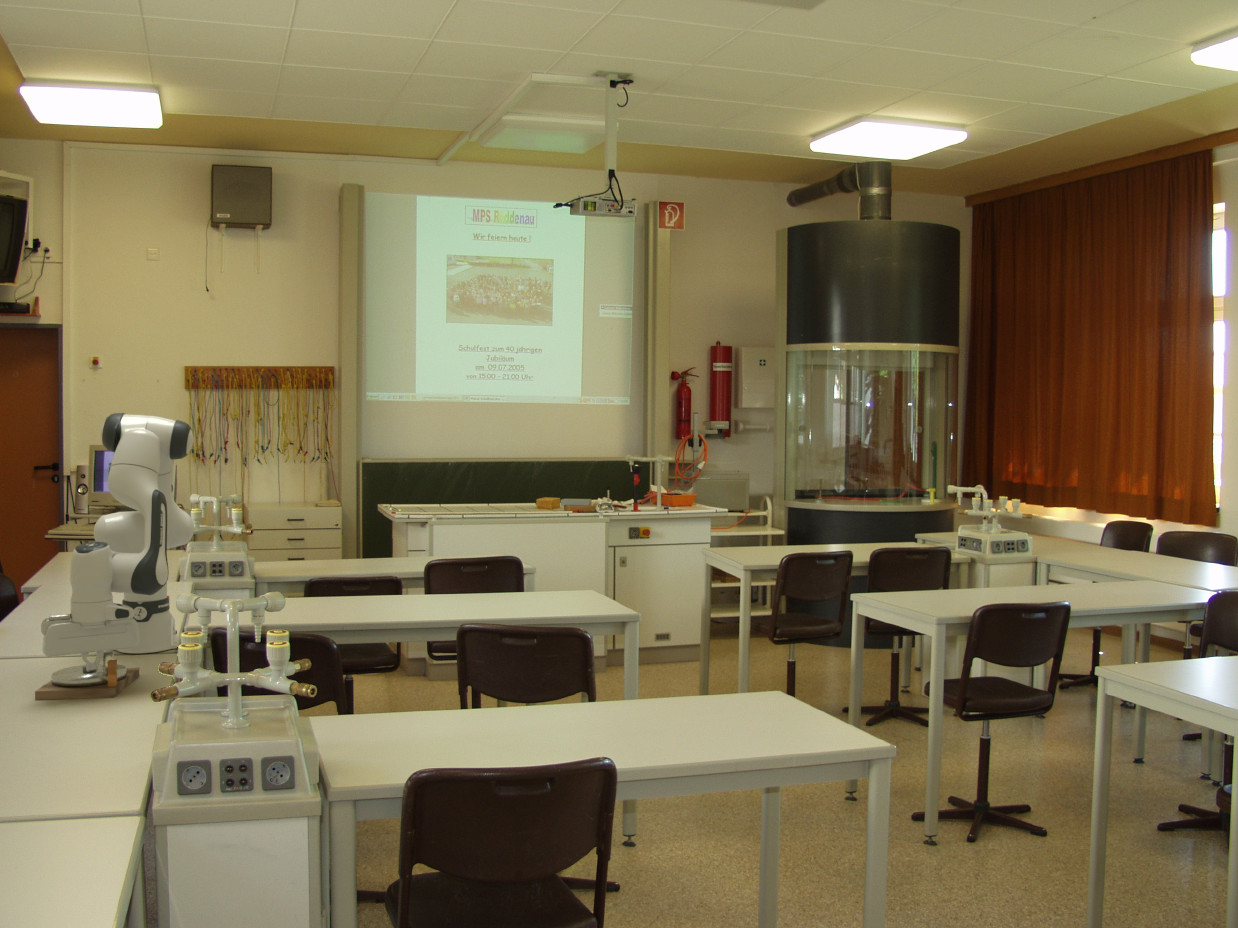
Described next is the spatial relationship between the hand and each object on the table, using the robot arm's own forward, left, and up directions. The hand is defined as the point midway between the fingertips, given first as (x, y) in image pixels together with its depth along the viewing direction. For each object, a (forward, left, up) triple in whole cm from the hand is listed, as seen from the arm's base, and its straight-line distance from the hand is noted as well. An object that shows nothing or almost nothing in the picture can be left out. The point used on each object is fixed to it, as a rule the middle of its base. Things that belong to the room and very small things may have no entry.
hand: (92, 670), depth 237 cm
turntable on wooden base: (-6, -3, -6) cm, 9 cm away
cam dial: (-6, -3, -3) cm, 8 cm away
